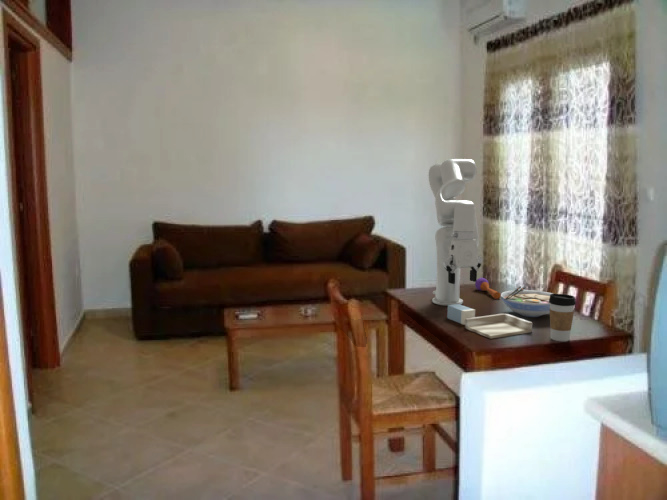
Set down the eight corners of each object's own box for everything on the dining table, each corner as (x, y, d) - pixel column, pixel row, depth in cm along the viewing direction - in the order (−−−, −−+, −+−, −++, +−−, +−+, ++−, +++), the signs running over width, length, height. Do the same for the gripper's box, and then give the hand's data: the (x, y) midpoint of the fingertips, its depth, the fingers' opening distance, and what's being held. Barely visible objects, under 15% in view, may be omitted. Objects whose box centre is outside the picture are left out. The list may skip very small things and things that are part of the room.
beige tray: (464, 328, 221) (465, 318, 220) (504, 322, 229) (505, 313, 228) (490, 338, 209) (491, 328, 208) (531, 332, 216) (532, 322, 216)
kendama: (489, 290, 264) (472, 277, 283) (491, 303, 265) (473, 289, 285) (502, 287, 264) (484, 274, 284) (504, 300, 266) (486, 287, 285)
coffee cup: (542, 335, 212) (544, 292, 210) (566, 334, 213) (569, 292, 211) (553, 342, 204) (555, 298, 202) (578, 342, 205) (580, 297, 202)
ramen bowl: (553, 327, 223) (554, 304, 221) (490, 318, 235) (491, 296, 233) (568, 312, 243) (569, 291, 242) (510, 304, 256) (511, 284, 254)
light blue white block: (447, 318, 235) (447, 305, 234) (458, 316, 237) (458, 303, 236) (463, 324, 226) (464, 311, 225) (474, 323, 228) (475, 309, 227)
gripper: (450, 238, 219) (449, 286, 221) (489, 235, 226) (487, 282, 229) (438, 236, 226) (436, 282, 228) (476, 233, 233) (474, 278, 235)
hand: (462, 282), depth 228 cm, fingers open, 9 cm apart
